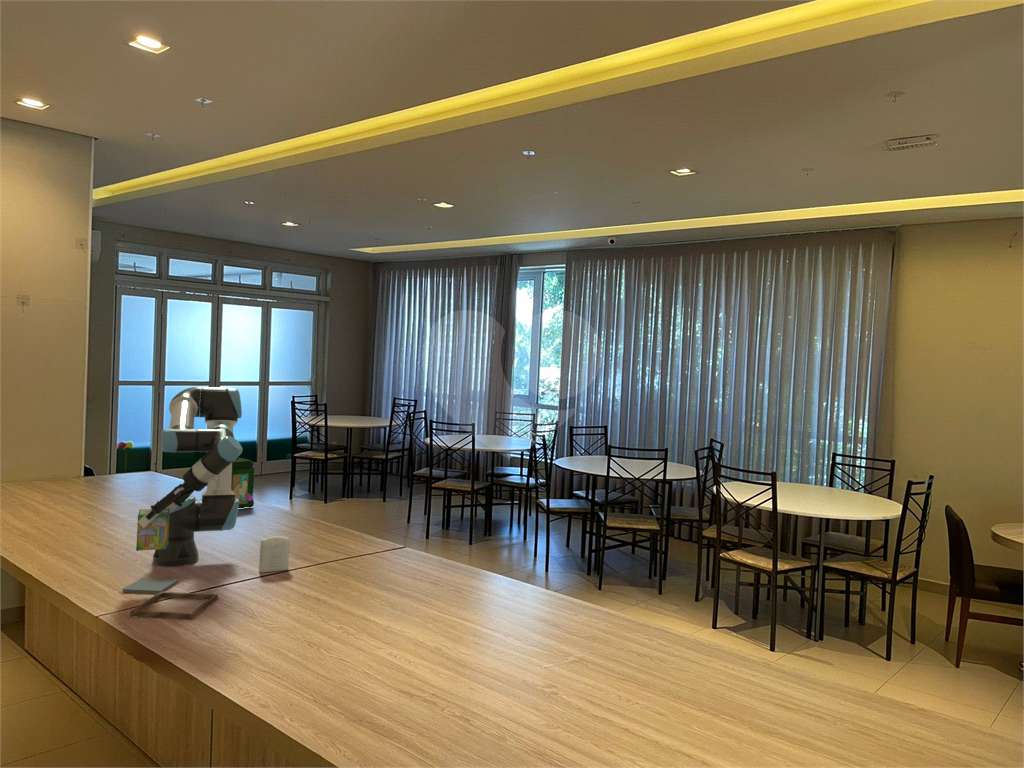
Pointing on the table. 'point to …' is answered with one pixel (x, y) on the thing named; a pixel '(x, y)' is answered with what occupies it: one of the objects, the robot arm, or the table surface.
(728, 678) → the table surface
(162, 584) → the mat
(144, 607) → the holder frame
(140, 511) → the chalk box
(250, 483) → the container
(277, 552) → the white tombstone
